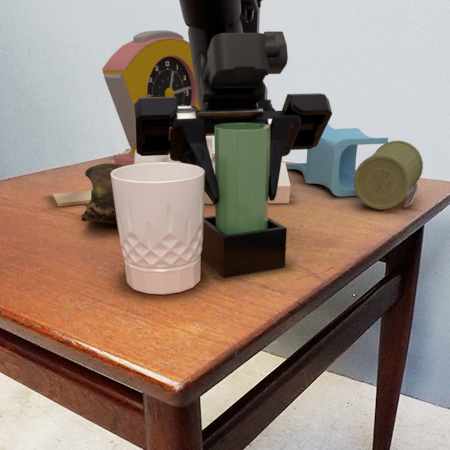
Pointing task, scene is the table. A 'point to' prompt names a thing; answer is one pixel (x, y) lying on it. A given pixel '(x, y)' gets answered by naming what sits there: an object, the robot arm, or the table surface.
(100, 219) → the seashell
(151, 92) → the yellow mantel clock
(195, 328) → the table surface
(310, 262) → the table surface
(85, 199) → the coaster
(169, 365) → the table surface
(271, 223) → the black open box
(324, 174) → the blue step stool
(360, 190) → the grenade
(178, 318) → the table surface
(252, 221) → the green cylinder
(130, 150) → the soap
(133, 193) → the white cup
